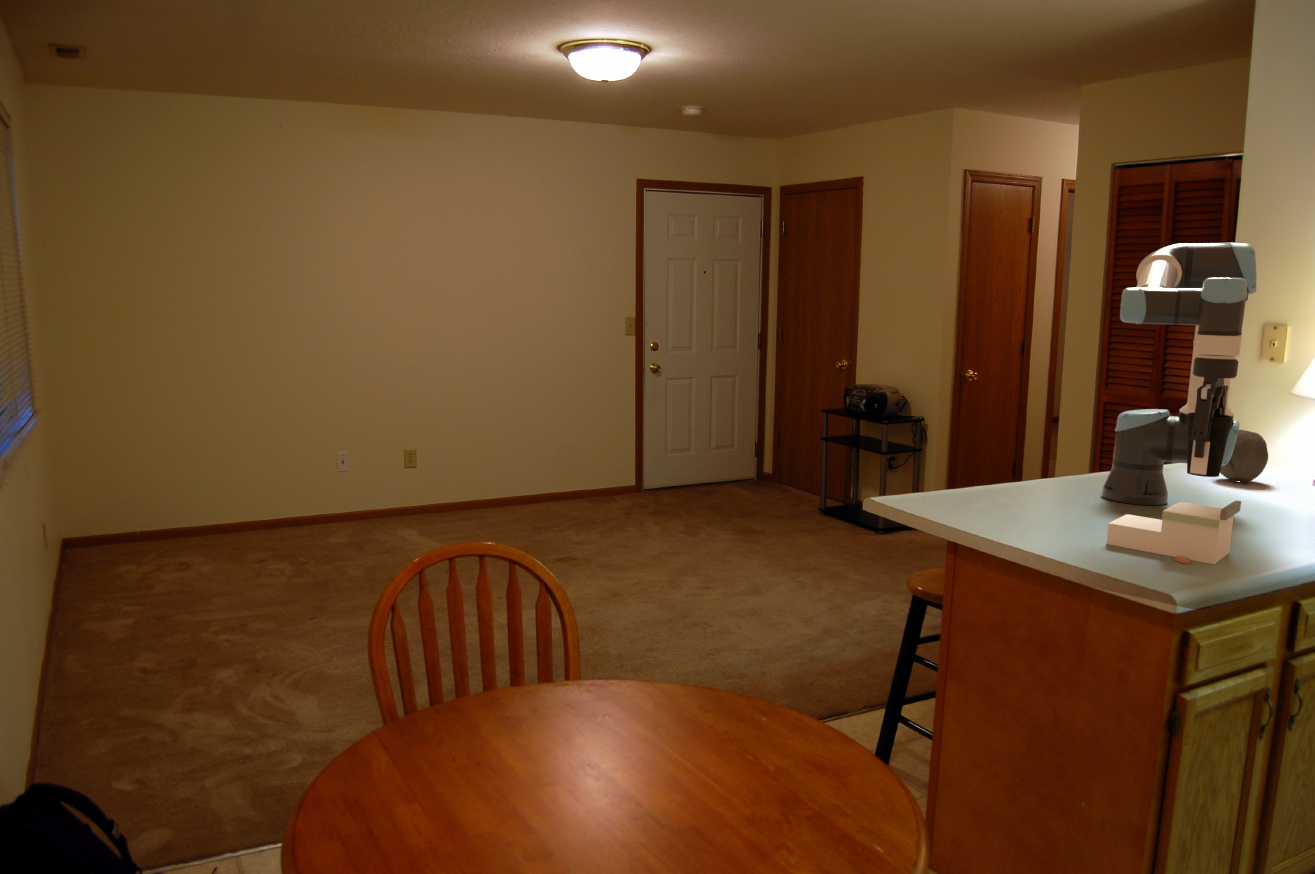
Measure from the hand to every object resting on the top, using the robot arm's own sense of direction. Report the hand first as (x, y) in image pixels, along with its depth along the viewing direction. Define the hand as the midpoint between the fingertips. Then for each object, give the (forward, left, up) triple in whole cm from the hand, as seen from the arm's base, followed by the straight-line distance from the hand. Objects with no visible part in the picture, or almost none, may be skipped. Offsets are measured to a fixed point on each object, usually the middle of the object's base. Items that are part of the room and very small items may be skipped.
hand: (1203, 470), depth 186 cm
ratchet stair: (+2, -5, -17) cm, 18 cm away
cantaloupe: (-97, -12, -17) cm, 99 cm away
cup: (0, 0, -1) cm, 1 cm away
